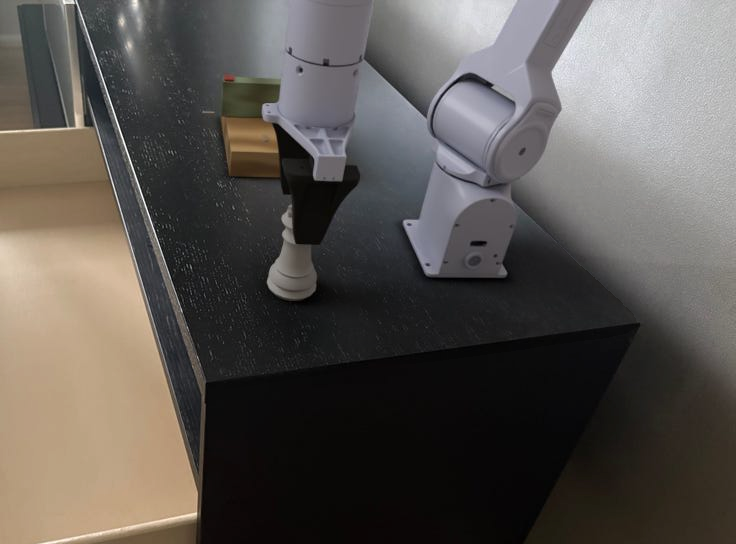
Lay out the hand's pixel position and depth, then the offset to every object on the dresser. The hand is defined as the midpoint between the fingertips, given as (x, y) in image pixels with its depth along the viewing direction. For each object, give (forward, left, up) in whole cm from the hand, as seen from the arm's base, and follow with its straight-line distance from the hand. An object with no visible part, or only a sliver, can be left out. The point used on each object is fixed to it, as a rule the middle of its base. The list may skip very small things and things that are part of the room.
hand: (300, 216), depth 63 cm
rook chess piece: (0, 0, -8) cm, 8 cm away
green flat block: (+29, 0, -4) cm, 29 cm away
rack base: (+28, -1, -7) cm, 29 cm away
